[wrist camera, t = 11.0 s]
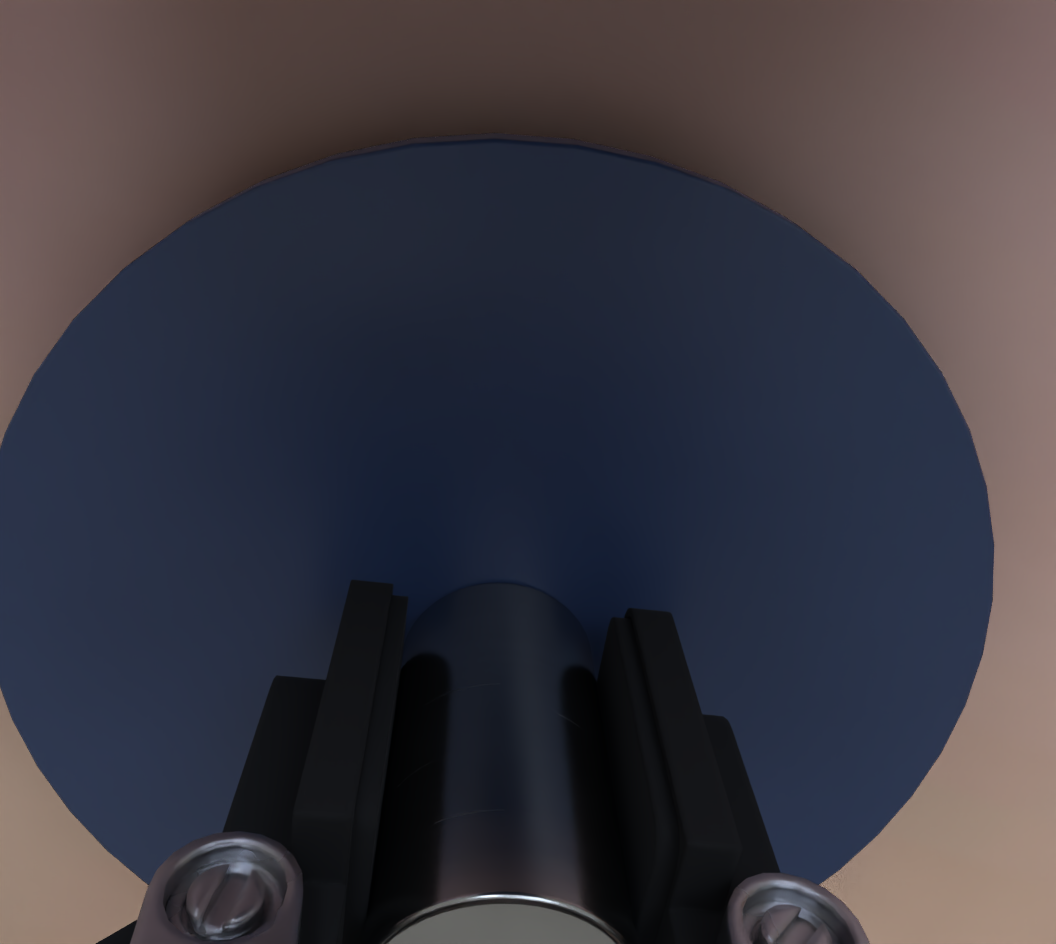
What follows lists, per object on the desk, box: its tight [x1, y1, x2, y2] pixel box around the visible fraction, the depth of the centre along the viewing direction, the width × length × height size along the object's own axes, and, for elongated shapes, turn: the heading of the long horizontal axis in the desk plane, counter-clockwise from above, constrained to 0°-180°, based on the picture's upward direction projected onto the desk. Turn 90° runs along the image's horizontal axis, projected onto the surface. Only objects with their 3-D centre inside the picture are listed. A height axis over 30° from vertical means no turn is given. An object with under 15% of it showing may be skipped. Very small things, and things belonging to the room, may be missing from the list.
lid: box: [0, 133, 994, 944], centre depth 11 cm, size 14×14×6 cm
